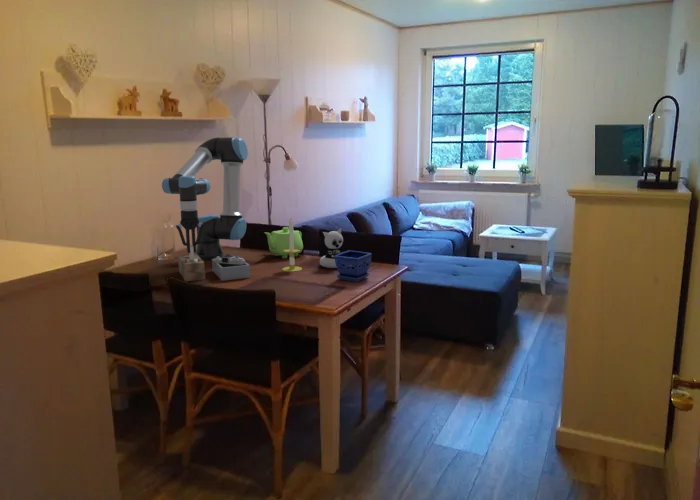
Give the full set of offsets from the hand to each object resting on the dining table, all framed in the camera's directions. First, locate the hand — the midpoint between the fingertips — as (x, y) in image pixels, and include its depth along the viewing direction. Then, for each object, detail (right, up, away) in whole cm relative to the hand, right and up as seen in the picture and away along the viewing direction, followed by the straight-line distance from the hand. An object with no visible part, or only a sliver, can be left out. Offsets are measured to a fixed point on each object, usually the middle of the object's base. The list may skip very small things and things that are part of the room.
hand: (192, 259), depth 262 cm
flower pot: (+76, -9, -1) cm, 77 cm away
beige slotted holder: (-2, -8, +5) cm, 10 cm away
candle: (+45, -5, +16) cm, 49 cm away
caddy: (+17, -7, +7) cm, 20 cm away
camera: (+17, -7, +8) cm, 20 cm away
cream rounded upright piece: (0, -8, +2) cm, 8 cm away
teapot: (+36, +1, +48) cm, 60 cm away
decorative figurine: (+66, -4, +24) cm, 71 cm away
